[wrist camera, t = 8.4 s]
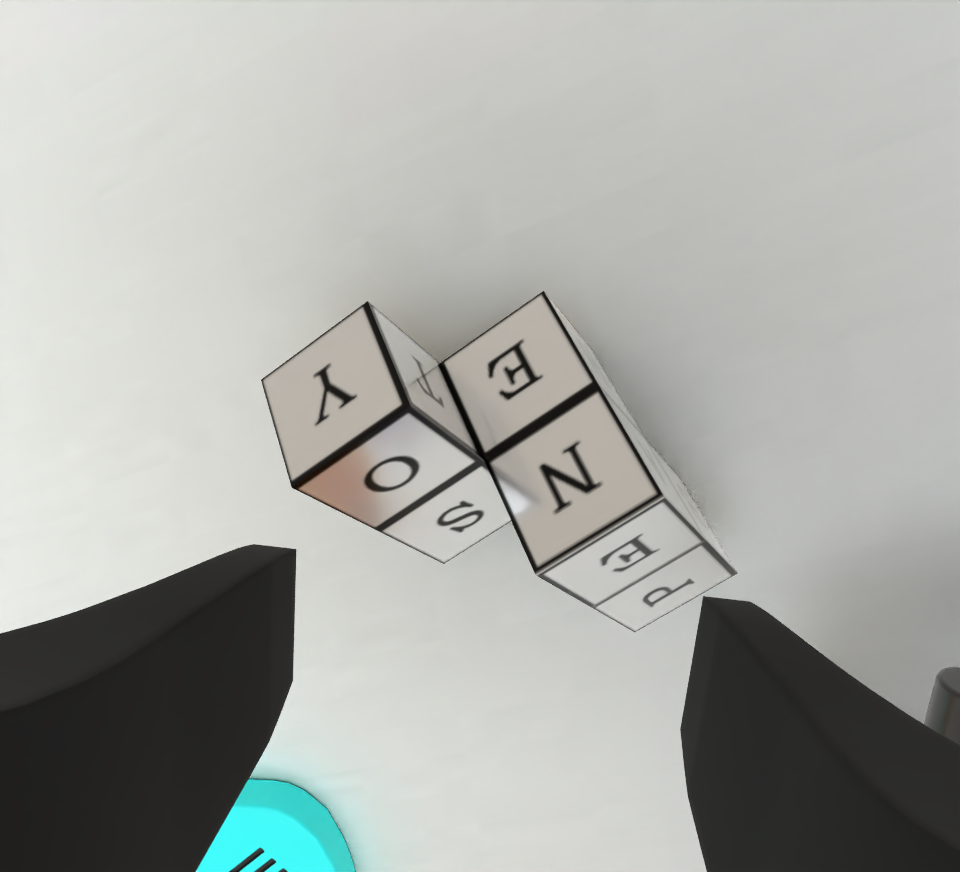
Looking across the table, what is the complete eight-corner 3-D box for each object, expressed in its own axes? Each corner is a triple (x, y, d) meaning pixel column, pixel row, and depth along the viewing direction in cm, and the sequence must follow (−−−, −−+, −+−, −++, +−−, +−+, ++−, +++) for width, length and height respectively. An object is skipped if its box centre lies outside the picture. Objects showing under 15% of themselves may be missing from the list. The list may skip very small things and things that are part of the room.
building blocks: (630, 396, 22) (482, 216, 16) (737, 572, 19) (608, 439, 13) (461, 505, 23) (261, 380, 17) (537, 687, 20) (329, 618, 14)
